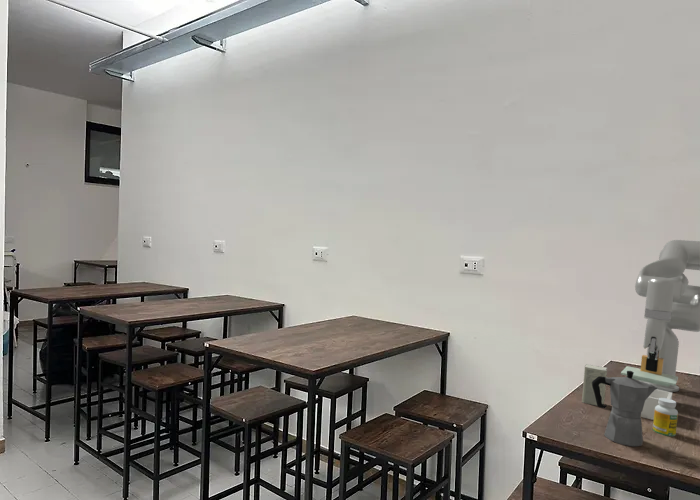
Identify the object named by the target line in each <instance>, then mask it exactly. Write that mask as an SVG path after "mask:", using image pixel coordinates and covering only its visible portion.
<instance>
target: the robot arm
mask: <svg viewBox="0 0 700 500" xmlns="http://www.w3.org/2000/svg"><path fill="white" fill-rule="evenodd" d="M685 270H691V271H692V270H693V271H700V240H699V241H698V240H685V239H683V240H682V239H672V240H670V241H668V242H666V243H665V245H664V246H663V249H662V250H660V252H659V255H658V259H657V260H656V261H653V262H651V263H648V264H646V265H644V266H643V267H642V268H641V269H640V271H639V273H638V276H637V278H636V280H635V284H634V288H635V292H636V294H637V295H638V296H640V297H642V298H645V307H644V308H645V309H644V317H643V318H644V319H646V320H647V321H646V326H645V333H644V340H643V346H642V347H643V349H646V355H647V356H648V357H647V360H646V370H648V371H653V372H657V366H658V360H657V357H658V358H663V359H664V361H663V370H662V373H663V374H668V375H673V376H676V373H677V364H678V353H679V347H680V345H679V344H680V342H679V339H678V336H677V335H676V334H675V332H674V331H673V330H680V331H687V332H693V333H698V332H700V285H693V284H692V285H691V284H689V279H688V277H687V276H686V275H685V274H684V272H685ZM638 381H640V380H638ZM641 382H644V383H647V384H651V385H653V386H655V387H657V389H658V390H662V391H667V392H671V393H675V392H679V391H680V387H679V386H678V385H677V384H676V385H675V386H673V385H670V386H669V387H668V386H663V385H659V384H654V383H649V382H645V381H641Z"/></svg>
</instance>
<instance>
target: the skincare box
mask: <svg viewBox="0 0 700 500" xmlns="http://www.w3.org/2000/svg"><path fill="white" fill-rule="evenodd" d="M607 374H608V367H605V366H604V367H603V366H599V365H598V366H597V365H593V364H585V365H584V372H583V385H582V396H581V403H584V404H586V405H587V404H588V405H591V406H596V407H598V406H597V402H596V398H595V395H594V391H593V387H592V382H593V380H595V379H596V378H597V377H598V376H602V377H608V376H607ZM599 387H600V395H601V397H602V404H604V405H605V398H606V390H607V389H606V388H607V386H606V385H605V384H602V383H600V384H599Z"/></svg>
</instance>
